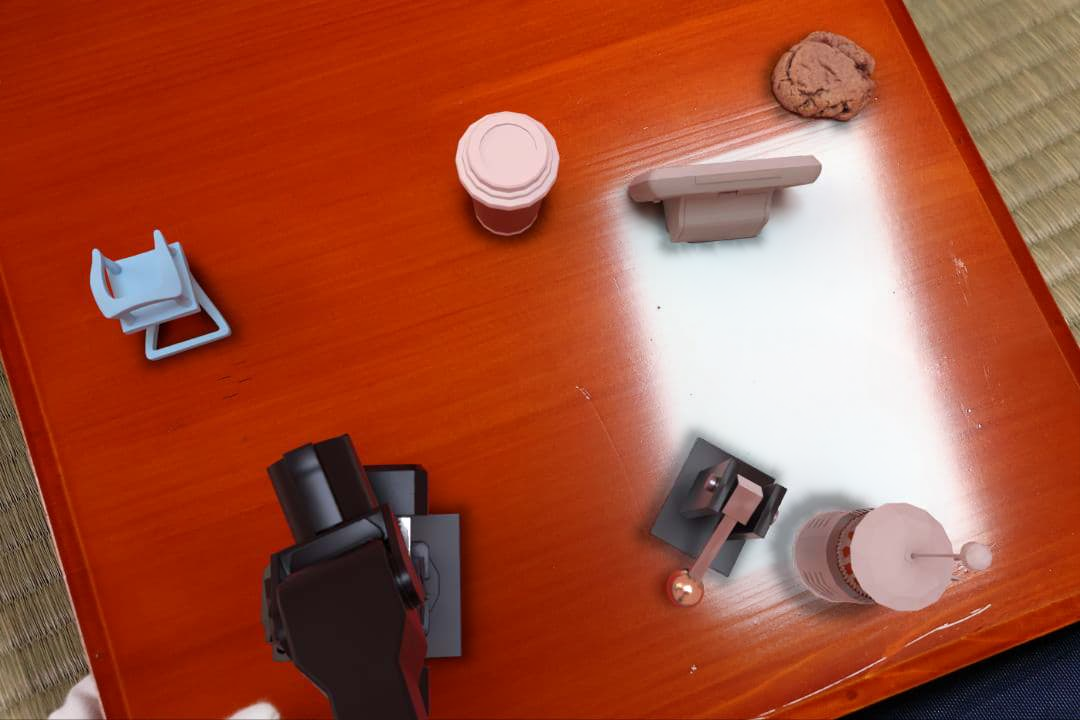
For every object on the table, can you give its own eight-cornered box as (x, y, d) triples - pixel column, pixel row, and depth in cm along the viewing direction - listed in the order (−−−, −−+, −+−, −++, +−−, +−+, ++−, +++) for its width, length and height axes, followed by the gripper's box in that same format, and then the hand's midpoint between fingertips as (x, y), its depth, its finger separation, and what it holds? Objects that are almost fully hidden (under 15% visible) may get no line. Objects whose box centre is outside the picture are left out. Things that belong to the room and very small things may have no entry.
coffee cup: (459, 163, 86) (453, 101, 74) (550, 161, 87) (558, 100, 75) (461, 249, 84) (455, 200, 72) (554, 247, 85) (563, 198, 73)
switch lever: (693, 604, 74) (693, 622, 70) (660, 585, 74) (658, 602, 71) (766, 488, 71) (769, 501, 68) (731, 469, 71) (733, 481, 68)
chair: (209, 256, 83) (161, 207, 71) (232, 335, 81) (187, 299, 69) (129, 281, 82) (67, 236, 70) (151, 362, 80) (91, 329, 69)
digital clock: (787, 172, 88) (826, 121, 77) (785, 256, 86) (824, 215, 75) (628, 156, 87) (645, 102, 77) (622, 240, 85) (639, 197, 75)
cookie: (752, 65, 90) (761, 49, 87) (837, 25, 92) (848, 8, 89) (802, 144, 88) (813, 130, 85) (888, 101, 90) (901, 86, 87)
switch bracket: (724, 576, 78) (765, 581, 66) (647, 533, 79) (673, 529, 67) (771, 480, 81) (819, 467, 69) (696, 438, 81) (730, 418, 69)
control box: (462, 653, 76) (460, 658, 72) (347, 658, 75) (339, 663, 71) (460, 514, 79) (458, 512, 75) (349, 518, 78) (341, 516, 74)
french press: (786, 493, 80) (912, 466, 56) (909, 514, 80) (1087, 496, 56) (776, 601, 78) (902, 623, 54) (902, 622, 78) (1085, 653, 54)
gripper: (256, 458, 59) (305, 478, 74) (245, 751, 55) (300, 709, 70) (419, 454, 60) (435, 474, 75) (420, 743, 56) (437, 703, 71)
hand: (399, 587), depth 73 cm, fingers closed, pressing on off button
